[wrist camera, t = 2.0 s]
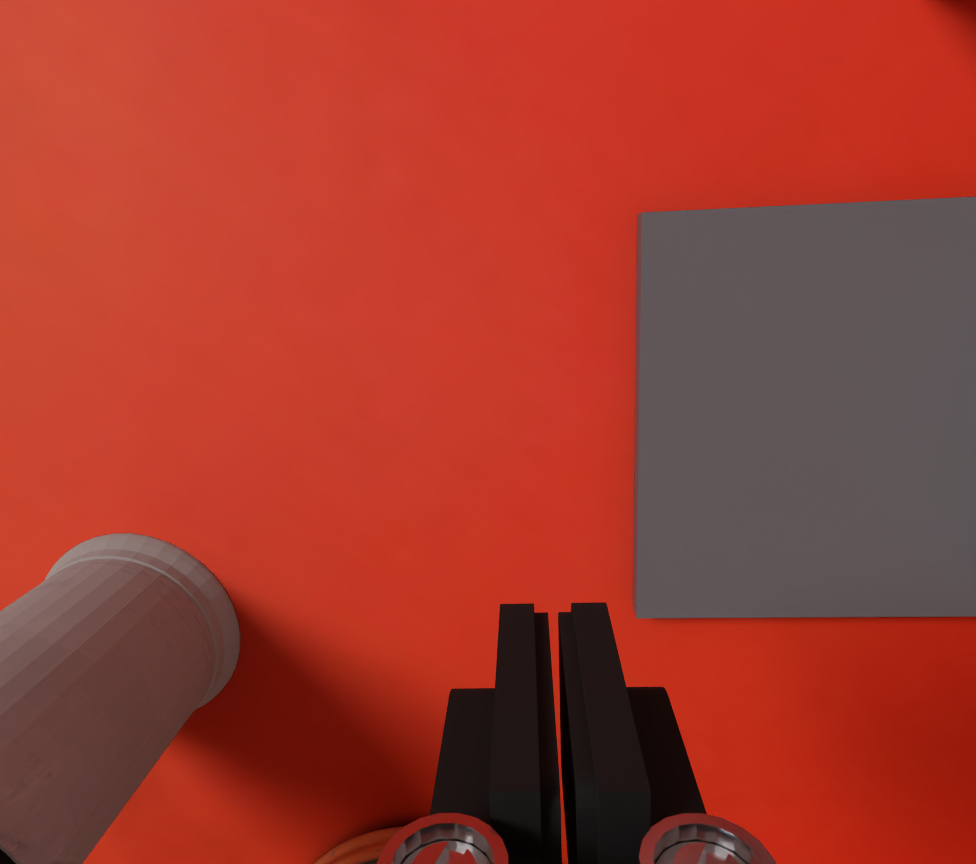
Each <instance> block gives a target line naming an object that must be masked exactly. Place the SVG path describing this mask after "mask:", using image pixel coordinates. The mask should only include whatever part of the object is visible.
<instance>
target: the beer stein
mask: <svg viewBox="0 0 976 864" xmlns="http://www.w3.org/2000/svg"><path fill="white" fill-rule="evenodd" d="M403 827H404V826H397V827H392V828H388V829H381V830H376V831H373V832H369V833H366V834H363V835H361V836H358V837H354V838H352V839H350V840H348V841H346V842H343V843H341V844H340V845H338V846H336V847H334V848H333V849H331V850H330V851H329V852H327V853H326V854H325V855H323V856H322V857H321V858H319V859H318V860H317V861H316V862H315V863H314V864H377V862H378V859H379V857H380V855H381V853H382V851H383V850H384V848H385V846H386V845H387V843H388V842H389V840H390V839H391V838H392V837H393V836H394V835H395V834H396V833H397V832H399V831H400V830H401V829H402V828H403Z"/></svg>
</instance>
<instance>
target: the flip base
mask: <svg viewBox="0 0 976 864" xmlns="http://www.w3.org/2000/svg"><path fill="white" fill-rule="evenodd" d="M633 607H634V611H635V615H636V618H778V617H961V616H976V197H958V198H937V199H916V200H895V201H874V202H853V203H832V204H811V205H790V206H769V207H748V208H727V209H706V210H685V211H664V212H643V213H638V214H637V296H636V383H635V470H634V558H633Z"/></svg>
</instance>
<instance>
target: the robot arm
mask: <svg viewBox="0 0 976 864" xmlns="http://www.w3.org/2000/svg"><path fill="white" fill-rule="evenodd" d="M558 626H559V677H560V729H561V769H562V786H563V799H564V812H565V826H566V839H567V853H568V864H776V862H775V860H774V859H773V857H772V856H771V855H770V853H769V852H768V851H767V849H766V848H765V847H764V846H763V844H762V843H761V842H760V841H759V840H758V839H757V838H755V837H754V836H753V835H751V834H750V833H749V832H748V831H746V830H745V829H744V828H742V827H740V826H738V825H736V824H734V823H732V822H730V821H728V820H726V819H723V818H720V817H716V816H711V815H707V814H706V811H705V808H704V805H703V801H702V798H701V795H700V792H699V789H698V786H697V783H696V780H695V777H694V774H693V771H692V768H691V765H690V762H689V758H688V755H687V752H686V749H685V746H684V743H683V740H682V737H681V734H680V731H679V728H678V725H677V722H676V718H675V715H674V712H673V709H672V706H671V703H670V700H669V697H668V694H667V692H666V690H665V688H663V687H626V684H625V680H624V676H623V672H622V667H621V663H620V659H619V655H618V650H617V646H616V642H615V638H614V633H613V629H612V625H611V621H610V617H609V612H608V608H607V604H606V603H571V612H559V613H558ZM377 864H562V852H561V806H560V783H559V766H558V752H557V738H556V724H555V709H554V695H553V681H552V666H551V652H550V638H549V623H548V613H534V604H500V617H499V633H498V649H497V666H496V682H495V688H480V689H451V691H450V695H449V701H448V707H447V713H446V719H445V726H444V732H443V738H442V744H441V750H440V756H439V762H438V769H437V775H436V781H435V787H434V793H433V799H432V806H431V812H430V816H426V817H422V818H419V819H417V820H416V821H414V822H412V823H410V824H408V825H406V826H404V827H403V828H402V829H401V830H400V831H399V832H397V833H396V834H395V835H394V836H393V837H392V838H391V839H390V840H389V842H388V843H387V845H386V846H385V848H384V850H383V851H382V853H381V855H380V857H379V859H378V862H377Z"/></svg>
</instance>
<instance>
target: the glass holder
mask: <svg viewBox="0 0 976 864" xmlns="http://www.w3.org/2000/svg"><path fill="white" fill-rule="evenodd" d="M239 653H240V630H239V623H238V619H237V616H236V613H235V610H234V607H233V604H232V602H231V600H230V599H229V597H228V595H227V593H226V591H225V589H224V588H223V587H222V585H221V584H220V583H219V581H218V580H217V579H216V577H215V576H214V575H213V574H212V573H211V572H210V571H209V570H208V569H207V568H206V567H205V566H204V565H203V564H202V563H201V562H200V561H198V560H197V559H195V558H194V557H193V556H191V555H190V554H188V553H187V552H185V551H184V550H182V549H180V548H178V547H176V546H174V545H172V544H170V543H168V542H165V541H162V540H159V539H156V538H153V537H150V536H144V535H137V534H109V535H104V536H98V537H95V538H92V539H90V540H87V541H84V542H82V543H80V544H78V545H77V546H75V547H74V548H72V549H71V550H69V551H68V552H66V553H65V554H64V555H63V556H62V557H61V558H60V559H59V560H58V561H57V562H56V563H55V564H54V566H53V567H52V569H51V570H50V572H49V573H48V575H47V577H46V579H45V581H44V582H42V583H41V584H39V585H38V586H36V587H35V588H34V589H32V590H31V591H29V592H28V593H26V594H25V595H23V596H22V597H20V598H19V599H18V600H16V601H15V602H13V603H12V604H10V605H9V606H7V607H6V608H4V609H3V610H2V611H0V864H83V862H84V861H85V859H86V858H87V857H88V855H89V854H90V853H91V851H92V850H93V848H94V847H95V846H96V844H97V843H98V842H99V840H100V839H101V837H102V836H103V835H104V833H105V832H106V831H107V829H108V828H109V827H110V825H111V824H112V822H113V821H114V820H115V818H116V817H117V816H118V814H119V813H120V811H121V810H122V809H123V807H124V806H125V805H126V803H127V802H128V800H129V799H130V798H131V796H132V795H133V794H134V792H135V791H136V790H137V788H138V787H139V785H140V784H141V783H142V781H143V780H144V779H145V777H146V776H147V774H148V773H149V772H150V770H151V769H152V768H153V766H154V765H155V763H156V762H157V761H158V759H159V758H160V757H161V755H162V754H163V753H164V751H165V750H166V748H167V747H168V746H169V744H170V743H171V742H172V740H173V739H174V737H175V736H176V735H177V733H178V732H179V731H180V729H181V728H182V726H183V725H184V724H185V722H186V721H187V720H188V718H189V717H190V716H191V714H192V713H193V711H194V710H196V709H198V708H200V707H202V706H203V705H205V704H207V703H208V702H209V701H211V700H212V699H213V698H214V697H215V696H216V695H218V694H219V693H220V692H221V690H222V689H223V688H224V687H225V685H226V684H227V683H228V682H229V680H230V678H231V676H232V674H233V672H234V670H235V668H236V665H237V661H238V657H239Z"/></svg>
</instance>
